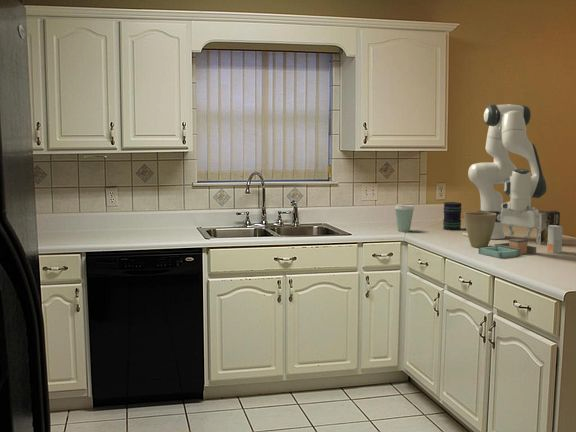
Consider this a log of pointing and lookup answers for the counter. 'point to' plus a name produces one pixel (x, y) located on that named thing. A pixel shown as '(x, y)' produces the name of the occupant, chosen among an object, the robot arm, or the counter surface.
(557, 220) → the coffee box
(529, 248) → the bay
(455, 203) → the storage jar
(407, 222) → the disposable coffee cup
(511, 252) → the tray
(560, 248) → the skincare box
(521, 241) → the orange-topped grey box
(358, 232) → the counter surface
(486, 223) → the plant pot
